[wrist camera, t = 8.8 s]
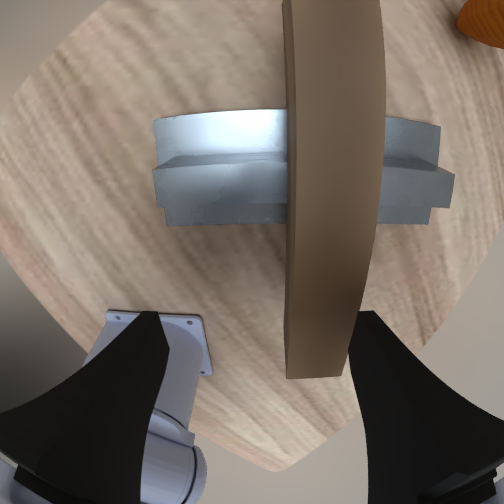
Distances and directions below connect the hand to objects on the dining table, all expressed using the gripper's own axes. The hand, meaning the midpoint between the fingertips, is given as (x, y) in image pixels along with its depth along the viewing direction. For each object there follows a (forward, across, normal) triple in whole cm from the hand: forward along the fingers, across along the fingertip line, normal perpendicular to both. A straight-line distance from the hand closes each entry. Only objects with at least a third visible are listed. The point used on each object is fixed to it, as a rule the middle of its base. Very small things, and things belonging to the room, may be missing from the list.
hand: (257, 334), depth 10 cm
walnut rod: (+6, -3, -4) cm, 7 cm away
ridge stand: (+10, -3, -4) cm, 11 cm away
